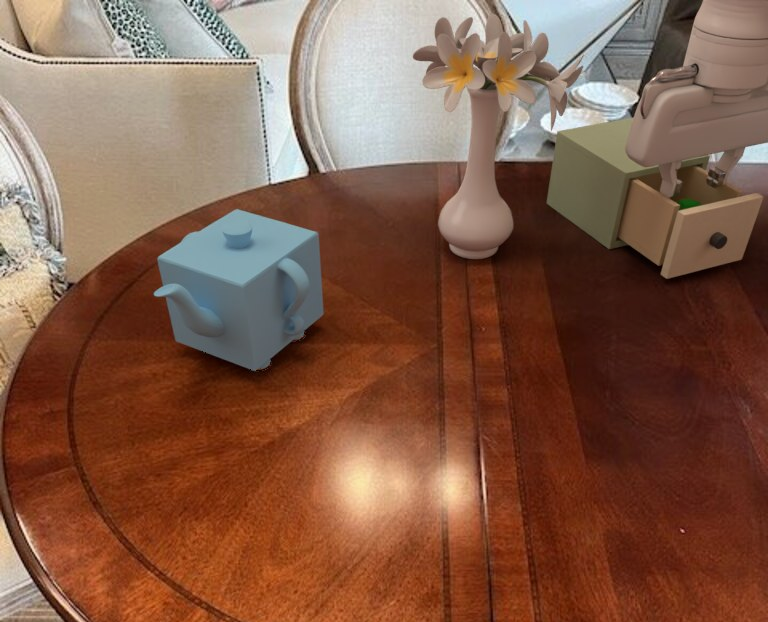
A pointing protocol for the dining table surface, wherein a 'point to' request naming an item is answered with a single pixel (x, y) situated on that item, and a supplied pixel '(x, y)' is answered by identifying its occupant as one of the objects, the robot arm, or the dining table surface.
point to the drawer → (687, 222)
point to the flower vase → (487, 118)
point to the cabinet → (597, 177)
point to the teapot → (243, 287)
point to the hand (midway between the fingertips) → (692, 190)
